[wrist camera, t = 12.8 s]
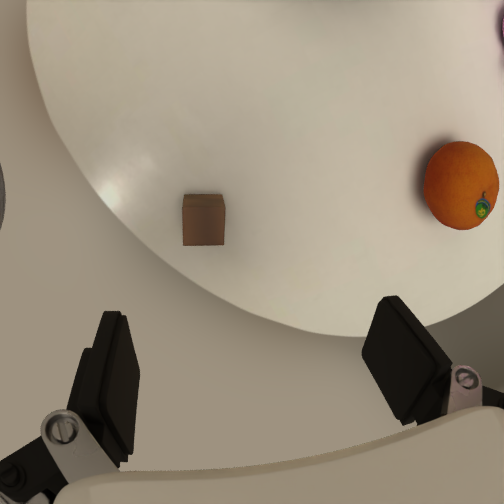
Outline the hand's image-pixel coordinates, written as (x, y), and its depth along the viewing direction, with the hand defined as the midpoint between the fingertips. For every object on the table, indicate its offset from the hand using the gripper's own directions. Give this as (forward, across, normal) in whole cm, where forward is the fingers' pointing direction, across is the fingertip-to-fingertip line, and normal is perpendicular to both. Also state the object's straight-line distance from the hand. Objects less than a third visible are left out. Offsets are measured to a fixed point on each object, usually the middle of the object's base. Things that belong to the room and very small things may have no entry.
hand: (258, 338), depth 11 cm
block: (+22, +2, +4) cm, 22 cm away
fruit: (+22, -28, -2) cm, 35 cm away
